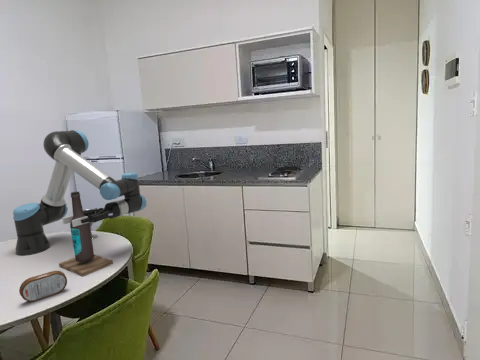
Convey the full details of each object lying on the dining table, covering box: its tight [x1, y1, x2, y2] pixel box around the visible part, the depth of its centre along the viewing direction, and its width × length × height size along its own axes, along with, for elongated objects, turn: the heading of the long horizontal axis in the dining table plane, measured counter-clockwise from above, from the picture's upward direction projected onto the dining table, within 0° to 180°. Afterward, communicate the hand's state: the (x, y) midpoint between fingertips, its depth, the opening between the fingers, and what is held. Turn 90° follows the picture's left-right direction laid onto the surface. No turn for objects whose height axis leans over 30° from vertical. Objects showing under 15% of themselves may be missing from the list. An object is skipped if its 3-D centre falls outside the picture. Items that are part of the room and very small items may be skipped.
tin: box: [19, 270, 68, 302], centre depth 123 cm, size 15×3×8 cm, turn 131°
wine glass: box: [83, 208, 99, 240], centre depth 188 cm, size 8×8×15 cm
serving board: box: [58, 253, 114, 277], centre depth 149 cm, size 20×14×2 cm
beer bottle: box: [69, 190, 95, 262], centre depth 147 cm, size 8×8×30 cm
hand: (67, 222), depth 142 cm, fingers closed on beer bottle, 7 cm apart
